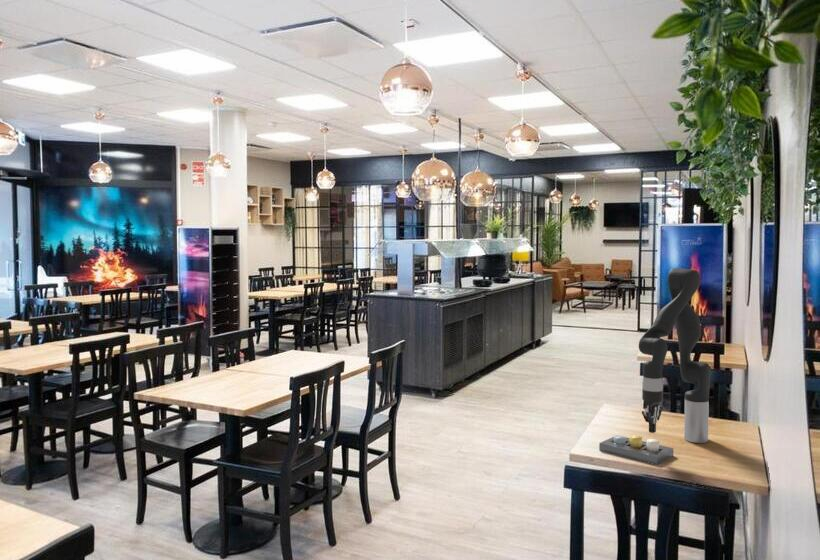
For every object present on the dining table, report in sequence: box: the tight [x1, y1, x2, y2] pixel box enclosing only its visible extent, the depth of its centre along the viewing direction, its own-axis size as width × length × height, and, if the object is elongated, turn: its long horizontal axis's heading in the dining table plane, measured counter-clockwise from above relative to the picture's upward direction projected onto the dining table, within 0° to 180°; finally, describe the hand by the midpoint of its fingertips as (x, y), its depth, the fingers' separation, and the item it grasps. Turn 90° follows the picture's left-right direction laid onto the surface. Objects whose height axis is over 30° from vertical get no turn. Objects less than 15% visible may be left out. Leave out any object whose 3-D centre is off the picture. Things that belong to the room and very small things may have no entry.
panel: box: [598, 435, 674, 466], centre depth 253 cm, size 14×24×3 cm, turn 43°
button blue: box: [613, 435, 626, 445], centre depth 258 cm, size 5×5×4 cm
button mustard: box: [629, 434, 643, 449], centre depth 253 cm, size 5×5×4 cm
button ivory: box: [646, 438, 660, 453], centre depth 248 cm, size 5×5×4 cm
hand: (652, 432), depth 248 cm, fingers closed
